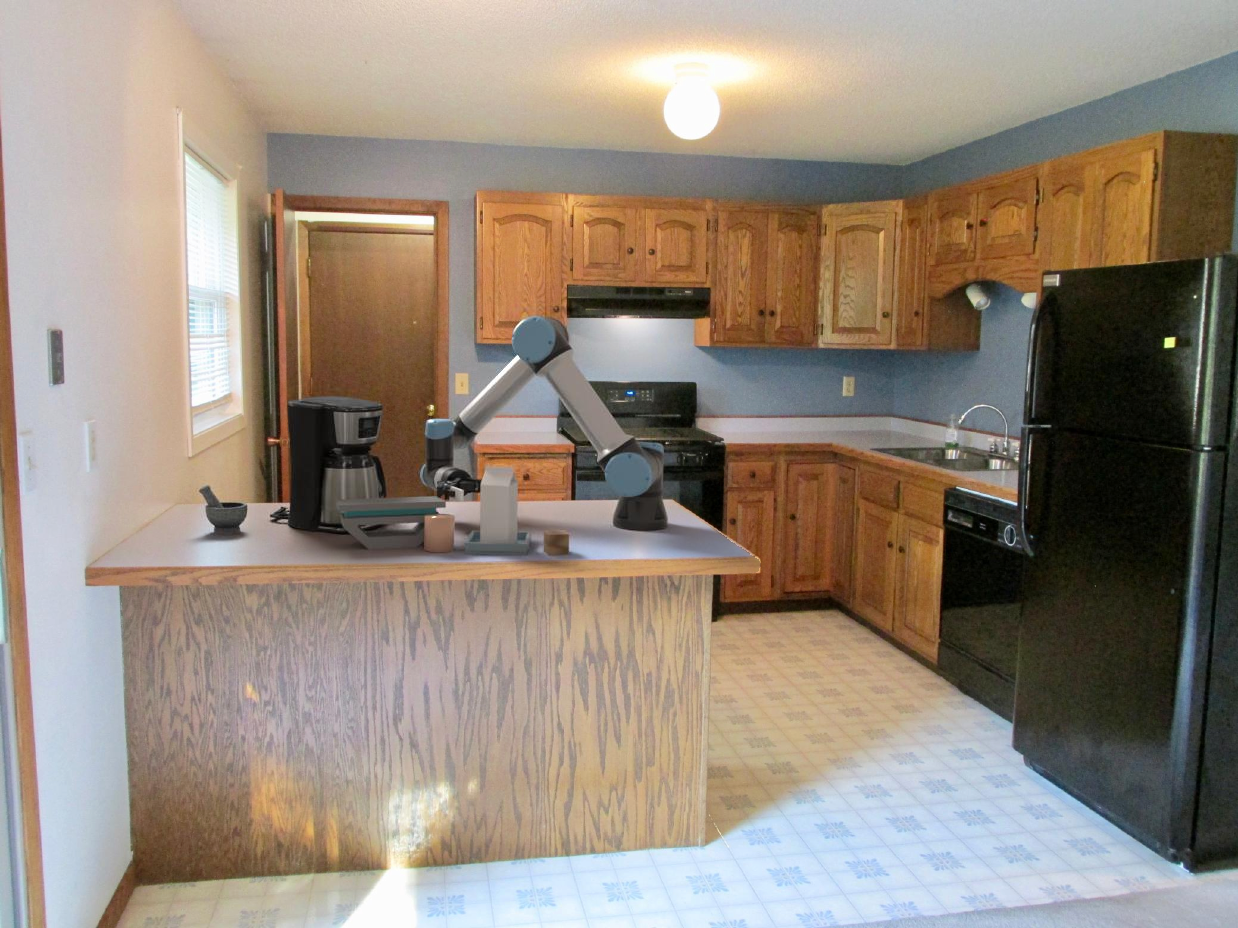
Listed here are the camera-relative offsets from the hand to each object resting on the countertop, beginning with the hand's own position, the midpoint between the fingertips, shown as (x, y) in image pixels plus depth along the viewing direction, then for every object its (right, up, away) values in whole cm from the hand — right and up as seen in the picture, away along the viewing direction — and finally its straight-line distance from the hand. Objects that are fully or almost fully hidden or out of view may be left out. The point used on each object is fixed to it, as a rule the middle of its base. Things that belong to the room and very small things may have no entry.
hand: (487, 494), depth 243 cm
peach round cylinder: (-11, -13, -7) cm, 18 cm away
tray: (+3, -13, -4) cm, 14 cm away
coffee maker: (-44, -9, +22) cm, 50 cm away
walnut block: (+17, -14, -7) cm, 23 cm away
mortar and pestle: (-67, -10, +6) cm, 68 cm away
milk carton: (+3, -12, -4) cm, 13 cm away
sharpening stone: (-23, -12, -3) cm, 26 cm away
